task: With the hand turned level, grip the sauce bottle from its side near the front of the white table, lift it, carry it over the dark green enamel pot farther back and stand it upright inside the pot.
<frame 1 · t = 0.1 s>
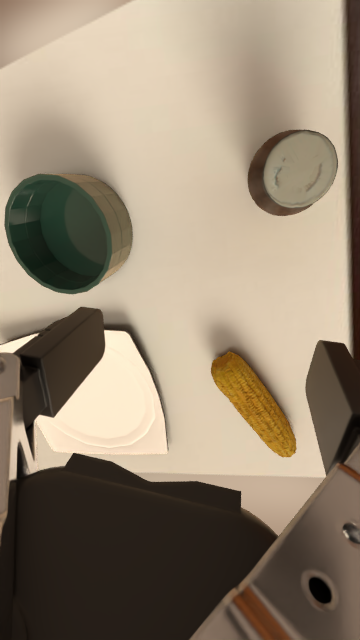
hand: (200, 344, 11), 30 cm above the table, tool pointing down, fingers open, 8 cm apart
pot: (85, 229, 42), on the table
plate: (91, 391, 56), on the table
sauce bottle: (276, 176, 34), on the table
food: (257, 394, 48), on the table
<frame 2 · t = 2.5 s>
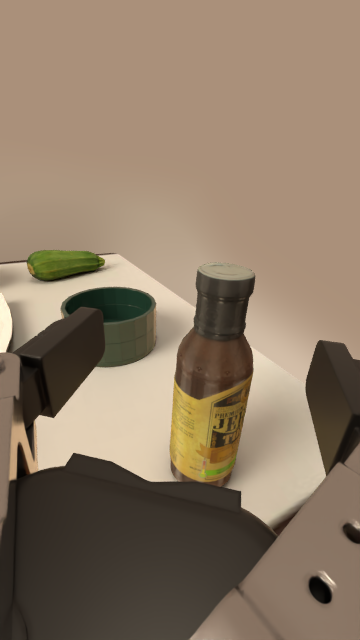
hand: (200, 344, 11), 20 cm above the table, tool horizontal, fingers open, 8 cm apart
pot: (112, 341, 49), on the table
sauce bottle: (201, 466, 29), on the table
vegetable: (70, 275, 78), on the table
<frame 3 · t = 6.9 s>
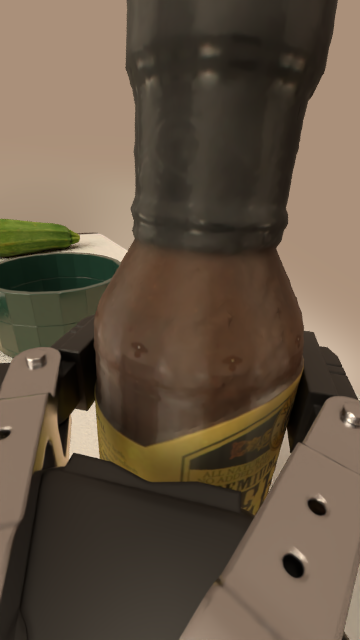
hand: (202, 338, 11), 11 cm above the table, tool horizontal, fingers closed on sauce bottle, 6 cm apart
pot: (65, 327, 34), on the table
sauce bottle: (177, 558, 14), on the table, touching gripper
vegetable: (36, 252, 63), on the table
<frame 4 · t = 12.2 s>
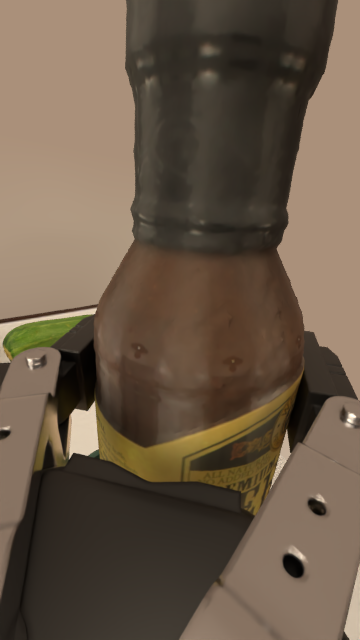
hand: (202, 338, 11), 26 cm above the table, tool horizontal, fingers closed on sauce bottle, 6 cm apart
sauce bottle: (177, 559, 14), point 15 cm above the table, touching gripper
vegetable: (67, 350, 56), on the table
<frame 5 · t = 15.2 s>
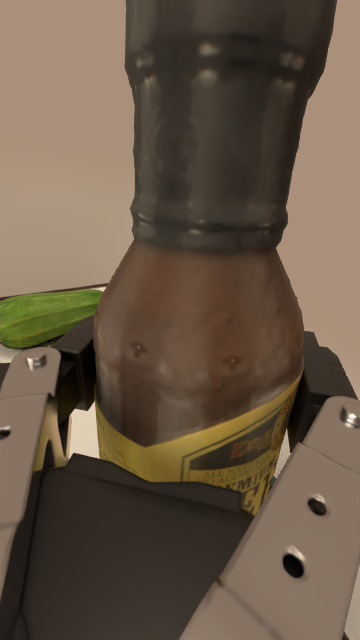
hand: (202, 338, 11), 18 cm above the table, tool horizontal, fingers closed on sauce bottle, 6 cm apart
sauce bottle: (177, 559, 14), point 7 cm above the table, touching gripper
vegetable: (67, 331, 47), on the table
when the fingers open (12 cm above the table, at t = 17.5 s): sauce bottle stays where it is, resting on pot.
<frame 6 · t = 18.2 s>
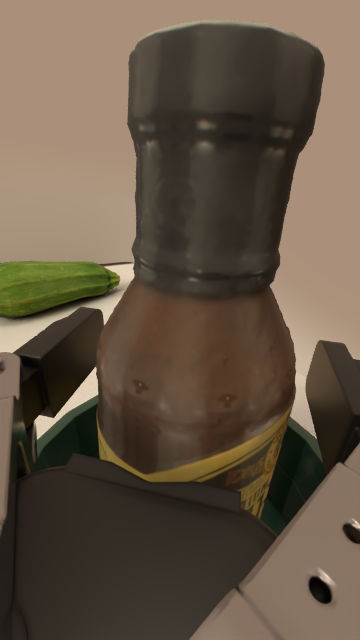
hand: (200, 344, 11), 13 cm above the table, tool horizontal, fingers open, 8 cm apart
pot: (176, 569, 15), on the table
sauce bottle: (176, 568, 15), point 1 cm above the table, touching pot
vegetable: (61, 304, 44), on the table
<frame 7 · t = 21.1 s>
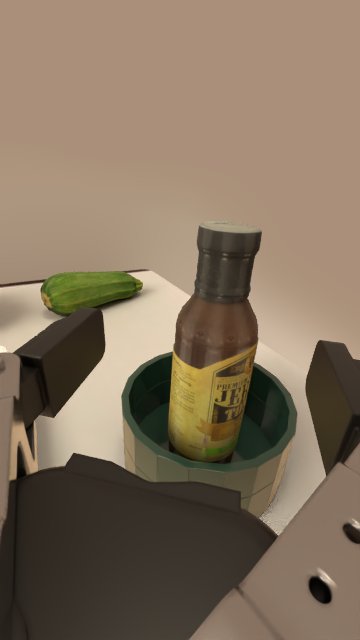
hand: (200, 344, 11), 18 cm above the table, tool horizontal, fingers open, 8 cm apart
pot: (201, 451, 28), on the table
sauce bottle: (201, 449, 27), point 1 cm above the table, touching pot
vegetable: (99, 305, 57), on the table
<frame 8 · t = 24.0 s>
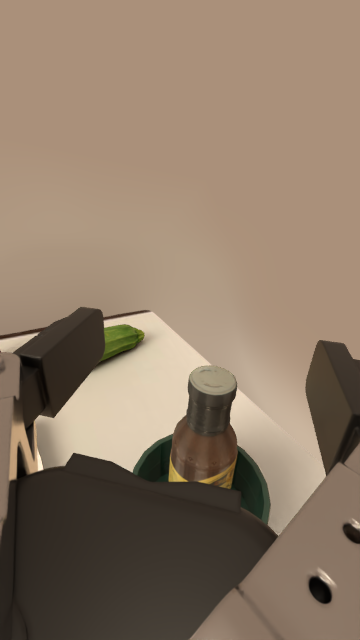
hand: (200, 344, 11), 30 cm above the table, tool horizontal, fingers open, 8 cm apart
pot: (194, 524, 33), on the table
sauce bottle: (194, 523, 33), point 1 cm above the table, touching pot
vegetable: (104, 357, 63), on the table
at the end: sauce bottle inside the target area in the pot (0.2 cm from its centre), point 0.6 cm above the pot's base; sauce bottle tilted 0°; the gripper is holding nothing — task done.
